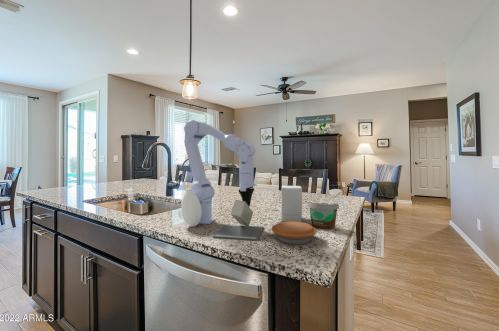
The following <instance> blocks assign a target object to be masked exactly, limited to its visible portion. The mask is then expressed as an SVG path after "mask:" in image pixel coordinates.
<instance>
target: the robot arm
mask: <svg viewBox="0 0 499 331" xmlns="http://www.w3.org/2000/svg"><path fill="white" fill-rule="evenodd" d="M183 132H184V140H183V142H184V143H183V144H184V146H185V147H184V148H185V151H186V155H187V158H188V159H187V160H188V162H189V167H190V172H191V176H192V179H193V182H192V183H191V189H192V191H193V192H194V193H195V194H196V196H197V197H198V199H199V201H200V204H201V209H202V216H201V220H200V222H198V224H199V225H201V224H203V225H209V224H211V223H213V221H215V219H216V218H214V217H213V213H212V212H213V208H212V207H213V206H212V201H213V197H214V196H215V188H214V187H213V186H212V183H211V181H210V179H208V178H207V176H206V172H205V167H204V165H203V159H202V156H201V151H200V148H199V144H200V141H202V140H203V139H204V138H205V137H206V136H207V135H208V136H211V137H213V138H215V139H216V140H219V141H221V142H222V144H223V146H224V147H225V148H227V149H229V150H230V151H232V152H234V153H235V154H237V156H238V158H239V160H238V161H239V162H238V163H239V164H238V166H239V167H238V169H239V170H238V171H239V173H238V174H239V177H238V178H239V183H238V186H239V189H238V193H239V195H240V197H241V201H244V202H246V203H247V205H248V206H249V207H250V205H251V203H252V202H251V201H252V196H253V193H254V191H255V188H253V187H256V186H257V183H255V181H254V179H255V178H254V156H255V154H256V148H255V146H254V145H253V144H252V143H250V142H249V143H247V141H246V140H244V139H243V140H242V139H241V138H239V137H238V135H236V134H233V133H230V134H226V133H225V132H223V131H221V130H220V129H218V128H216V127H214V126H213V125H211V124H208V123H207V122H202V121H198V120H195V119H190V120H188V121H186V123H185V126H184V127H183Z"/></svg>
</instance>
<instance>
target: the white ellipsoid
mask: <svg viewBox="0 0 499 331" xmlns="http://www.w3.org/2000/svg"><path fill="white" fill-rule="evenodd" d="M186 183H187V188H185V192H184V194H183V196H182V200H181V204H180V208H181V210H180V211H181V216H182V219H183V221H184V223H185V225H186V224H187V225H188V226H190V227H191V228H192V227H193V228H194V227H196V226H197V225H199V223H198V222H200V220H201V216H202V209H201V204H200V201H199V199H198V197H197V196H196V194H195V193H194V192H193V191H192V188H190V185H189V182H186Z"/></svg>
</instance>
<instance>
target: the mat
mask: <svg viewBox="0 0 499 331" xmlns="http://www.w3.org/2000/svg"><path fill="white" fill-rule="evenodd" d="M263 230H264V226H257V225H249V226H246V225H242V224H224V225H223V226H222V227H221V228H220V229H218V230H217V232H216V233H214V234H213V235H212V239H213V238H214V239H226V240H227V239H228V240H241V241H242V240H244V241H257V242H258V241H259V239H260V236H261V234H262V231H263Z"/></svg>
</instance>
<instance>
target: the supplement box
mask: <svg viewBox="0 0 499 331" xmlns="http://www.w3.org/2000/svg"><path fill="white" fill-rule="evenodd" d="M302 211H303V188H302V186H301V185H282V186H281V222H286V221H295V222H302V218H303V214H302Z"/></svg>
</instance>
